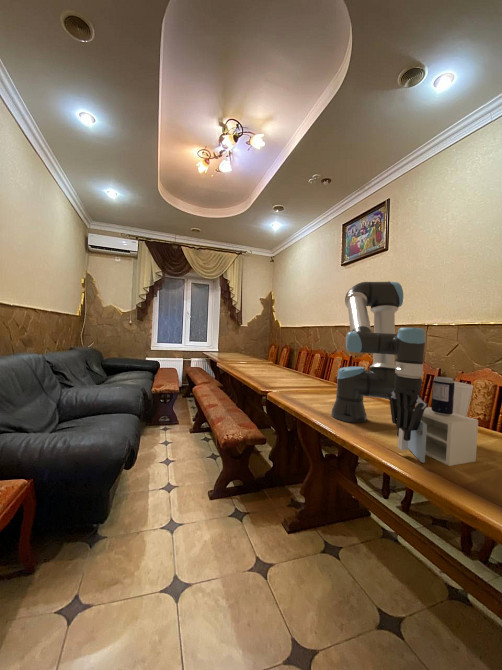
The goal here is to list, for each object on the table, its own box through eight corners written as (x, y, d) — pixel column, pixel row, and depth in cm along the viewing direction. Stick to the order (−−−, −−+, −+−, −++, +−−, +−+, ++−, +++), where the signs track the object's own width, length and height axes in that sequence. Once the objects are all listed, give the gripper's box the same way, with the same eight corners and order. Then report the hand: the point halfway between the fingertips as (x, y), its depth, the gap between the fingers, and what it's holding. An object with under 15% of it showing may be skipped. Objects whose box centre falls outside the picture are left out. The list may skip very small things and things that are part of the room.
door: (416, 461, 77) (418, 423, 77) (400, 443, 90) (402, 411, 90) (425, 462, 77) (427, 424, 76) (408, 444, 89) (410, 411, 89)
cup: (475, 443, 95) (479, 385, 95) (462, 449, 89) (466, 387, 89) (440, 432, 105) (443, 379, 105) (426, 437, 99) (429, 381, 99)
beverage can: (456, 417, 82) (458, 380, 81) (436, 415, 83) (438, 378, 83) (446, 412, 87) (448, 377, 87) (428, 410, 88) (430, 375, 88)
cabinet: (406, 445, 90) (409, 408, 90) (431, 442, 94) (433, 407, 94) (449, 465, 77) (451, 422, 76) (475, 461, 80) (478, 420, 80)
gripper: (382, 372, 87) (377, 441, 87) (418, 380, 75) (412, 460, 75) (399, 372, 89) (394, 439, 90) (436, 380, 77) (430, 457, 77)
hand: (402, 448), depth 82 cm, fingers closed
